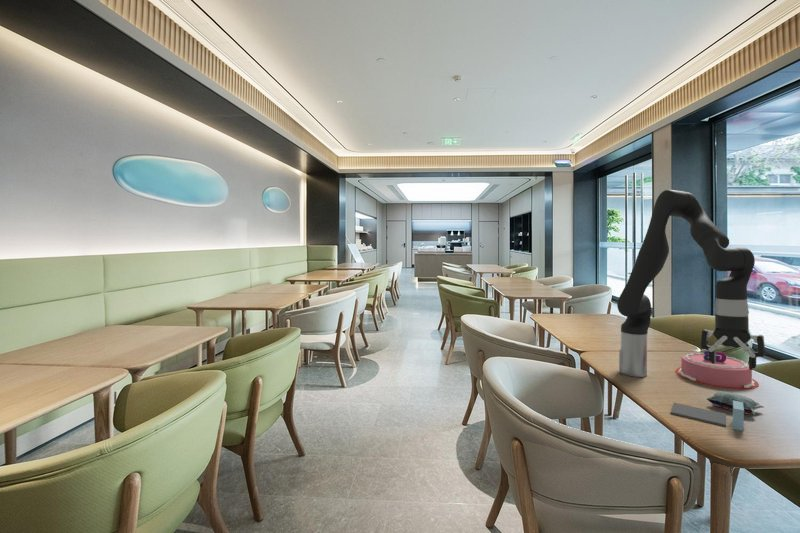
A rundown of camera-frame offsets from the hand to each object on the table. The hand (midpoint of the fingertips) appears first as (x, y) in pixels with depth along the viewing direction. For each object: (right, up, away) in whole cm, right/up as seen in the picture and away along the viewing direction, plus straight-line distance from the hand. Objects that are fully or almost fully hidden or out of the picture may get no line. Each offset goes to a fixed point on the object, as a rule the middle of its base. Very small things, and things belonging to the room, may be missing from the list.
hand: (731, 366), depth 111 cm
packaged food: (+7, -16, +6) cm, 18 cm away
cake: (+24, -14, +34) cm, 44 cm away
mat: (-8, -16, +2) cm, 18 cm away
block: (-2, -16, -4) cm, 17 cm away
